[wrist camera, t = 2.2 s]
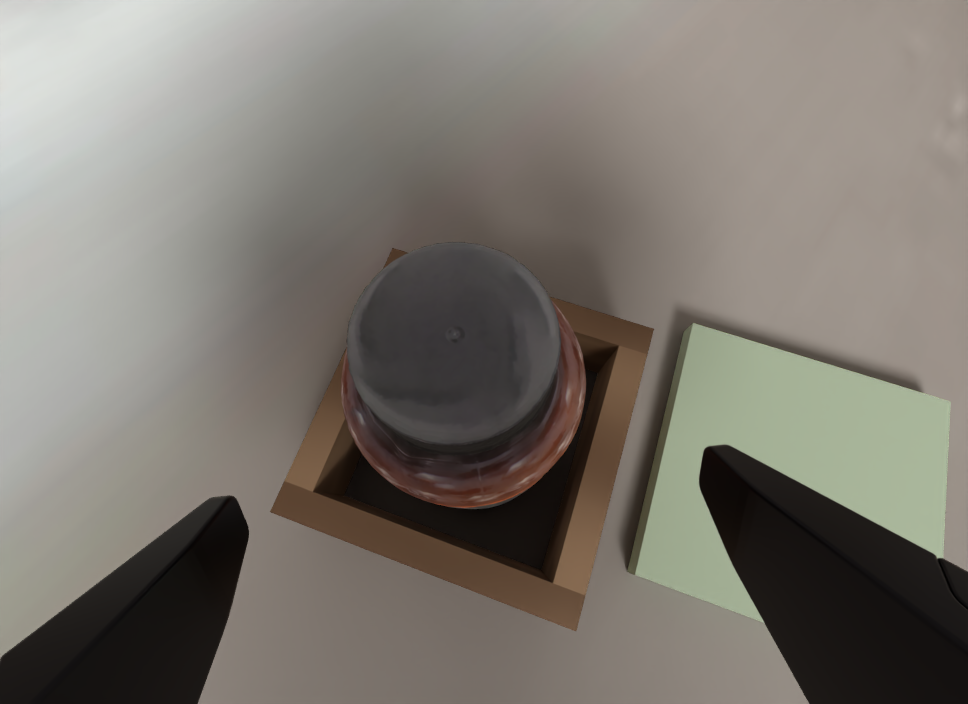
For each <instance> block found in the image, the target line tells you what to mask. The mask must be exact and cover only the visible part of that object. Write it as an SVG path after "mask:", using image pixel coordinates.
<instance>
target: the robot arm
mask: <svg viewBox="0 0 968 704" xmlns="http://www.w3.org/2000/svg"><path fill="white" fill-rule="evenodd" d="M699 487H700V490H701V493H702V495H703V498H704V500H705V502H706V505H707V507H708V509H709V512H710V514H711V516H712V519H713V521H714V524H715V526H716V528H717V531H718V533H719V535H720V538H721V540H722V542H723V545H724V547H725V549H726V552H727V554H728V556H729V558H730V561H731V563H732V565H733V567H734V569H735V571H736V572H737V574H738V576H739V578H740V580H741V582H742V583H743V585H744V587H745V589H746V591H747V592H748V594H749V596H750V598H751V600H752V601H753V603H754V605H755V607H756V609H757V610H758V612H759V614H760V616H761V618H762V619H763V621H764V623H765V625H766V627H767V628H768V630H769V632H770V634H771V636H772V637H773V639H774V641H775V643H776V645H777V646H778V648H779V650H780V652H781V654H782V655H783V657H784V659H785V661H786V663H787V664H788V666H789V668H790V670H791V672H792V673H793V675H794V677H795V679H796V681H797V682H798V684H799V686H800V688H801V690H802V691H803V693H804V695H805V697H806V699H807V700H808V702H809V704H968V572H967V571H966V570H964V569H962V568H960V567H958V566H956V565H954V564H952V563H951V562H949V561H947V560H945V559H943V558H937V557H936V555H935V554H933V553H931V552H930V551H928V550H926V549H924V548H922V547H920V546H918V545H916V544H915V543H913V542H911V541H909V540H907V539H905V538H903V537H901V536H899V535H898V534H896V533H894V532H892V531H890V530H888V529H886V528H884V527H883V526H881V525H879V524H877V523H875V522H873V521H871V520H869V519H867V518H866V517H864V516H862V515H860V514H858V513H856V512H854V511H852V510H851V509H849V508H847V507H845V506H843V505H841V504H839V503H837V502H836V501H834V500H832V499H830V498H828V497H826V496H824V495H822V494H820V493H819V492H817V491H815V490H813V489H811V488H809V487H807V486H805V485H804V484H802V483H800V482H798V481H796V480H794V479H792V478H790V477H788V476H787V475H785V474H783V473H781V472H779V471H777V470H775V469H773V468H772V467H770V466H768V465H766V464H764V463H762V462H760V461H758V460H756V459H755V458H753V457H751V456H749V455H747V454H745V453H743V452H741V451H740V450H738V449H736V448H734V447H732V446H730V445H727V444H722V445H713V446H708V447H706V448H705V449H704V451H703V456H702V462H701V468H700V474H699ZM248 538H249V529H248V525H247V522H246V520H245V518H244V515H243V513H242V510H241V508H240V506H239V503H238V501H237V499H236V498H235V497H234V496H220V497H213V498H210V499H208V500H206V501H205V502H204V503H202V504H201V505H200V506H199V507H197V508H196V509H195V510H193V511H192V512H191V513H189V514H188V515H187V516H185V517H184V518H183V519H181V520H180V521H179V522H178V523H176V524H175V525H174V526H172V527H171V528H170V529H168V530H167V531H166V532H164V533H163V534H162V535H160V536H159V537H158V538H157V539H155V540H154V541H153V542H151V543H150V544H149V545H147V546H146V547H145V548H143V549H142V550H141V551H139V552H138V553H137V554H135V555H134V556H133V557H132V558H130V559H129V560H128V561H126V562H125V563H124V564H122V565H121V566H120V567H118V568H117V569H116V570H114V571H113V572H112V573H110V574H109V575H108V576H107V577H105V578H104V579H103V580H101V581H100V582H99V583H97V584H96V585H95V586H93V587H92V588H91V589H89V590H88V591H87V592H86V593H84V594H83V595H82V596H80V597H79V598H78V599H76V600H75V601H74V602H72V603H71V604H70V605H68V606H67V607H66V608H64V609H63V610H62V611H61V612H59V613H58V614H57V615H55V616H54V617H53V618H51V619H50V620H49V621H47V622H46V623H45V624H43V625H42V626H41V627H39V628H38V629H37V630H36V631H34V632H33V633H32V634H30V635H29V636H28V637H26V638H25V639H24V640H22V641H21V642H20V643H18V644H17V645H16V646H14V647H13V648H12V649H11V650H9V651H8V652H7V653H5V654H4V655H3V656H2V657H1V659H0V704H198V701H199V698H200V695H201V693H202V690H203V687H204V684H205V682H206V679H207V676H208V673H209V671H210V668H211V665H212V662H213V660H214V657H215V654H216V651H217V649H218V646H219V643H220V640H221V638H222V635H223V632H224V629H225V626H226V623H227V620H228V617H229V613H230V610H231V606H232V602H233V598H234V594H235V590H236V586H237V583H238V579H239V575H240V571H241V567H242V563H243V559H244V555H245V551H246V547H247V543H248Z"/></svg>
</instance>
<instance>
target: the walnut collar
mask: <svg viewBox="0 0 968 704" xmlns="http://www.w3.org/2000/svg"><path fill="white" fill-rule="evenodd" d="M405 254H407V252H404V251H401V250H397V249H394V248H392V251H391V253H390V255H389V257H388V259H387V261H386V264H385V266H384V268H385V267H386V266H387V265H389V264H390V263H391V262H393V261H394V260H396V259H397V258H399V257H401V256H403V255H405ZM384 268H383V269H384ZM550 299H551V300H552V301H553V302H554V303H555V305H556V306H557V307H558V308H559V310H560V311H561V312H562V314H563V315H564V316H565V318H566V319H567V320H568V322H569V324H570V326H571V328H572V329H573V331H574V333H575V335H576V338H577V340H578V343H579V345H580V348H581V351H582V354H583V361H584V366H585V369H587V370H590V371H593V372H596V373H598V374H597V378H596V381H595V385H594V388H593V392H592V395H591V398H590V402H589V405H588V409H587V412H586V416H585V419H584V423H583V426H582V430H581V433H580V437H579V440H578V444H577V447H576V451H575V454H574V458H573V461H572V465H571V468H570V472H569V475H568V479H567V482H566V486H565V489H564V493H563V496H562V500H561V503H560V506H559V510H558V513H557V517H556V520H555V524H554V527H553V531H552V534H551V538H550V541H549V545H548V548H547V552H546V555H545V559H544V562H543V566H542V569H541V570H540V569H537V568H534V567H532V566H529V565H527V564H524V563H521V562H519V561H516V560H513V559H511V558H508V557H505V556H503V555H500V554H497V553H495V552H492V551H490V550H487V549H484V548H482V547H479V546H476V545H474V544H471V543H468V542H466V541H463V540H461V539H458V538H455V537H453V536H450V535H447V534H445V533H442V532H439V531H437V530H434V529H431V528H429V527H426V526H424V525H421V524H418V523H416V522H413V521H410V520H408V519H405V518H402V517H400V516H397V515H394V514H392V513H389V512H387V511H384V510H381V509H379V508H376V507H373V506H371V505H368V504H365V503H363V502H360V501H358V500H355V499H352V498H350V497H347V496H344V494H345V492H346V490H347V487H348V485H349V482H350V480H351V478H352V475H353V473H354V471H355V468H356V466H357V464H358V461H359V459H360V456H361V454H362V453H361V451H360V449H359V448H358V447H357V445H356V444H355V441H354V439H353V437H352V436H351V434H350V431H349V428H348V425H347V421H346V419H345V415H344V410H343V405H342V397H341V377H342V370H343V364H344V357H345V354H346V350H347V348H346V350H345V352H344V354H343V356H342V358H341V360H340V363H339V365H338V367H337V369H336V371H335V373H334V376H333V378H332V380H331V382H330V384H329V386H328V388H327V391H326V393H325V395H324V397H323V399H322V401H321V403H320V406H319V408H318V410H317V412H316V414H315V416H314V419H313V421H312V423H311V425H310V427H309V429H308V431H307V434H306V436H305V438H304V440H303V442H302V444H301V447H300V449H299V451H298V453H297V455H296V457H295V459H294V462H293V464H292V466H291V468H290V470H289V472H288V475H287V477H286V479H285V481H284V483H283V485H282V487H281V490H280V492H279V494H278V496H277V498H276V500H275V503H274V505H273V507H272V509H271V511H270V512H272V513H274V514H277V515H279V516H282V517H284V518H287V519H290V520H292V521H295V522H297V523H300V524H302V525H305V526H307V527H310V528H313V529H315V530H318V531H320V532H323V533H325V534H328V535H330V536H333V537H336V538H338V539H341V540H343V541H346V542H348V543H351V544H354V545H356V546H359V547H361V548H364V549H366V550H369V551H371V552H374V553H377V554H379V555H382V556H384V557H387V558H389V559H392V560H395V561H397V562H400V563H402V564H405V565H407V566H410V567H412V568H415V569H418V570H420V571H423V572H425V573H428V574H430V575H433V576H435V577H438V578H441V579H443V580H446V581H448V582H451V583H453V584H456V585H459V586H461V587H464V588H466V589H469V590H471V591H474V592H476V593H479V594H482V595H484V596H487V597H489V598H492V599H494V600H497V601H499V602H502V603H505V604H507V605H510V606H512V607H515V608H517V609H520V610H523V611H525V612H528V613H530V614H533V615H535V616H538V617H540V618H543V619H546V620H548V621H551V622H553V623H556V624H558V625H561V626H564V627H566V628H569V629H571V630H574V631H576V630H577V626H578V622H579V618H580V614H581V610H582V607H583V603H584V599H585V595H586V591H587V587H588V583H589V579H590V575H591V572H592V568H593V564H594V560H595V556H596V552H597V548H598V544H599V540H600V537H601V533H602V529H603V525H604V521H605V517H606V513H607V509H608V505H609V501H610V498H611V494H612V490H613V486H614V482H615V478H616V474H617V470H618V466H619V463H620V459H621V455H622V451H623V447H624V443H625V439H626V435H627V431H628V428H629V424H630V420H631V416H632V412H633V408H634V404H635V400H636V396H637V392H638V389H639V385H640V381H641V377H642V373H643V369H644V365H645V361H646V357H647V354H648V350H649V346H650V342H651V338H652V334H653V330H654V329H652V328H649V327H646V326H643V325H639V324H636V323H633V322H630V321H626V320H623V319H620V318H617V317H614V316H610V315H607V314H604V313H601V312H597V311H594V310H591V309H588V308H585V307H581V306H578V305H575V304H572V303H568V302H565V301H562V300H559V299H555V298H552V297H550Z"/></svg>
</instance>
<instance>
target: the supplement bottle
mask: <svg viewBox="0 0 968 704" xmlns="http://www.w3.org/2000/svg"><path fill="white" fill-rule="evenodd" d="M585 393H586V375H585V366H584V361H583V354H582V351H581V348H580V345H579V343H578V340H577V338H576V335H575V333H574V331H573V329H572V328H571V326H570V324H569V322H568V320H567V319H566V318H565V316H564V315H563V314H562V312H561V311H560V310H559V308H558V307H557V306H556V305H555V303H554V302H553V301H552V300H551V299H550V297H549V295H548V293H547V291H546V290H545V289H544V287H543V286H542V284H541V282H540V281H539V280H538V279H537V278H536V277H535V276H534V275H533V274H532V272H530V271H529V270H528V269H527V268H526V267H525V266H524V265H523V264H521V263H519V262H518V261H517V260H515V259H514V258H512V257H511V256H509V255H508V254H506V253H503V252H501V251H499V250H496V249H493V248H489V247H486V246H482V245H479V244H472V243H462V242H448V243H438V244H434V245H430V246H425V247H422V248H419V249H417V250H414V251H412V252H410V253H407V254H405V255H403V256H401V257H399V258H397V259H396V260H394V261H393V262H391V263H390V264H389V265H387V266H386V267H385V268H384V269H383V270H382V271H381V272H380V273H379V274H378V275H377V276H376V277H375V278H374V279H373V280H372V281H371V283H370V284H369V285H368V286H367V287H366V288H365V289H364V291H363V293H362V294H361V296H360V297H359V299H358V302H357V303H356V305H355V307H354V310H353V313H352V316H351V318H350V321H349V325H348V334H347V350H346V354H345V357H344V364H343V370H342V377H341V397H342V405H343V410H344V415H345V419H346V421H347V425H348V428H349V431H350V434H351V436H352V437H353V439H354V441H355V444H356V445H357V447H358V448H359V449H360V451H361V453H362V454H363V456H364V457H365V458H366V460H367V461H368V462H369V463H370V465H371V466H372V467H373V468H374V469H375V470H376V471H377V472H378V473H379V474H380V475H382V476H383V477H384V478H385V479H386V480H388V481H389V482H390V483H391V484H393V485H394V486H396V487H397V488H399V489H400V490H402V491H403V492H406V493H408V494H410V495H412V496H414V497H416V498H419V499H421V500H424V501H427V502H431V503H434V504H438V505H443V506H448V507H452V508H453V507H454V508H465V509H485V508H491V507H495V506H499V505H501V504H504V503H506V502H509V501H511V500H512V499H514V498H516V497H517V496H519V495H520V494H522V493H523V492H525V491H526V490H527V489H529V488H530V487H531V486H533V485H534V484H535V483H536V482H537V481H539V480H540V479H541V478H542V476H543V475H544V474H545V473H547V472H548V471H549V470H550V469H551V467H552V466H553V465H554V464H555V463H556V462H557V461H558V459H559V458H560V457H561V456H562V455H563V454H564V452H565V451H566V449H567V448H568V446H569V444H570V443H571V441H572V439H573V437H574V435H575V433H576V431H577V428H578V426H579V423H580V420H581V416H582V412H583V407H584V401H585Z"/></svg>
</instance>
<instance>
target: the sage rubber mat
mask: <svg viewBox="0 0 968 704" xmlns="http://www.w3.org/2000/svg"><path fill="white" fill-rule="evenodd" d="M950 403H951V401H947V400H944V399H941V398H937V397H934V396H931V395H928V394H924V393H921V392H918V391H915V390H911V389H908V388H905V387H901V386H898V385H895V384H892V383H888V382H885V381H882V380H879V379H875V378H872V377H869V376H865V375H862V374H859V373H856V372H852V371H849V370H846V369H843V368H839V367H836V366H833V365H829V364H826V363H823V362H820V361H816V360H813V359H810V358H807V357H803V356H800V355H797V354H793V353H790V352H787V351H784V350H780V349H777V348H774V347H771V346H767V345H764V344H761V343H757V342H754V341H751V340H748V339H744V338H741V337H738V336H734V335H731V334H728V333H725V332H721V331H718V330H715V329H712V328H708V327H705V326H702V325H698V324H695V323H693V324H691V325H690V326H689V327H688V328H687V329H686V330H685V331H684V333H683V337H682V341H681V346H680V350H679V354H678V358H677V363H676V367H675V371H674V375H673V380H672V384H671V388H670V392H669V397H668V401H667V405H666V409H665V414H664V418H663V422H662V426H661V431H660V435H659V439H658V443H657V448H656V452H655V456H654V460H653V465H652V469H651V473H650V477H649V482H648V486H647V490H646V494H645V499H644V503H643V507H642V511H641V516H640V520H639V524H638V528H637V532H636V537H635V541H634V545H633V549H632V554H631V558H630V562H629V566H628V571H627V572H629V573H632V574H634V575H636V576H639V577H642V578H645V579H647V580H650V581H653V582H655V583H658V584H661V585H663V586H666V587H669V588H672V589H674V590H677V591H680V592H682V593H685V594H688V595H690V596H693V597H696V598H698V599H701V600H704V601H707V602H709V603H712V604H715V605H717V606H720V607H723V608H725V609H728V610H731V611H733V612H736V613H739V614H742V615H744V616H747V617H750V618H752V619H755V620H758V621H760V622H763V623H764V621H763V619H762V618H761V616H760V614H759V612H758V610H757V609H756V607H755V605H754V603H753V601H752V600H751V598H750V596H749V594H748V592H747V591H746V589H745V587H744V585H743V583H742V582H741V580H740V578H739V576H738V574H737V572H736V571H735V569H734V567H733V565H732V563H731V561H730V558H729V556H728V554H727V552H726V549H725V547H724V545H723V542H722V540H721V538H720V535H719V533H718V531H717V528H716V526H715V524H714V521H713V519H712V516H711V514H710V512H709V509H708V507H707V505H706V502H705V500H704V498H703V495H702V493H701V490H700V487H699V474H700V468H701V462H702V456H703V451H704V449H705V448H706V447H708V446H713V445H722V444H727V445H730V446H732V447H734V448H736V449H738V450H740V451H741V452H743V453H745V454H747V455H749V456H751V457H753V458H755V459H756V460H758V461H760V462H762V463H764V464H766V465H768V466H770V467H772V468H773V469H775V470H777V471H779V472H781V473H783V474H785V475H787V476H788V477H790V478H792V479H794V480H796V481H798V482H800V483H802V484H804V485H805V486H807V487H809V488H811V489H813V490H815V491H817V492H819V493H820V494H822V495H824V496H826V497H828V498H830V499H832V500H834V501H836V502H837V503H839V504H841V505H843V506H845V507H847V508H849V509H851V510H852V511H854V512H856V513H858V514H860V515H862V516H864V517H866V518H867V519H869V520H871V521H873V522H875V523H877V524H879V525H881V526H883V527H884V528H886V529H888V530H890V531H892V532H894V533H896V534H898V535H899V536H901V537H903V538H905V539H907V540H909V541H911V542H913V543H915V544H916V545H918V546H920V547H922V548H924V549H926V550H928V551H930V552H931V553H933V554H935V555H936V557H937V558H943V549H944V528H945V507H946V486H947V466H948V445H949V424H950Z"/></svg>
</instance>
